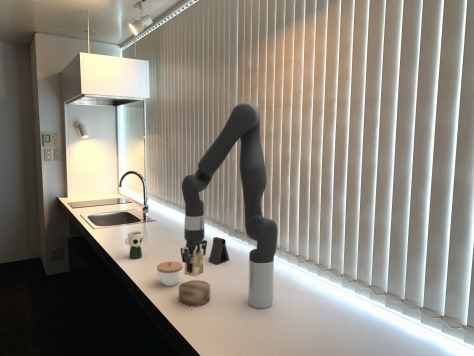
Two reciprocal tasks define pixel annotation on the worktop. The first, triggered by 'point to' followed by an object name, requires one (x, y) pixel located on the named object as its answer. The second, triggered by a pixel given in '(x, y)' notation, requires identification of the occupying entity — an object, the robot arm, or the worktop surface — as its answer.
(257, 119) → the robot arm
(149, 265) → the worktop surface
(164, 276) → the lidded jar
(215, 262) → the phone stand
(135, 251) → the character mug
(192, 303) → the walnut plinth
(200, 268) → the oak block
